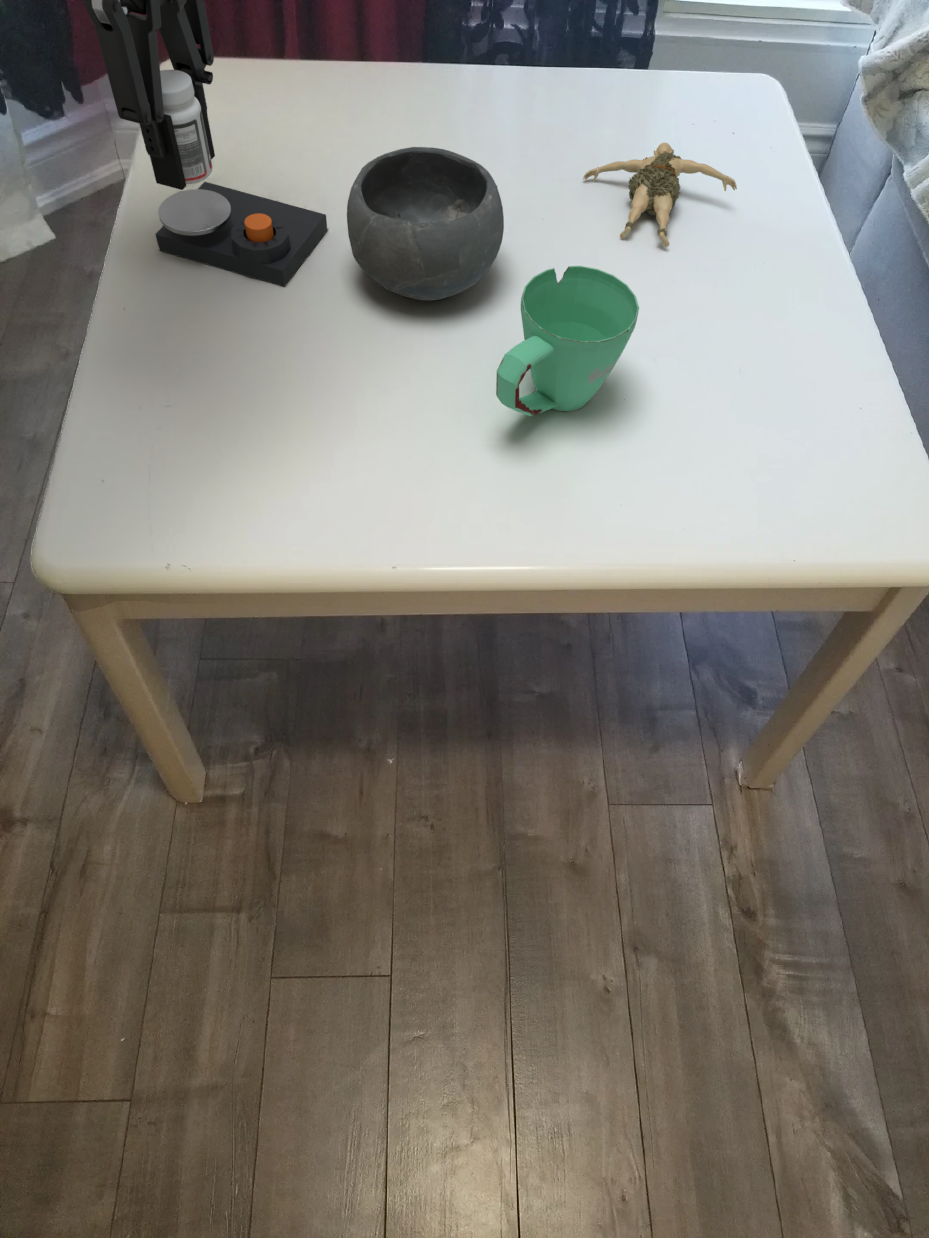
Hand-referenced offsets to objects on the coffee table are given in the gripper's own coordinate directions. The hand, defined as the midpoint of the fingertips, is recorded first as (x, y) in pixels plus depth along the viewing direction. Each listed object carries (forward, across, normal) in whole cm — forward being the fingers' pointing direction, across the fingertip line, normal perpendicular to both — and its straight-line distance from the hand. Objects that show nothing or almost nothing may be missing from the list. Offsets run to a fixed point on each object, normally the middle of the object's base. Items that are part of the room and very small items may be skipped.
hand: (186, 169), depth 86 cm
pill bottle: (0, 0, 0) cm, 0 cm away
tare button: (+5, 0, -7) cm, 9 cm away
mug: (+8, -8, -40) cm, 41 cm away
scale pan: (+5, 0, 0) cm, 5 cm away
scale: (+8, +2, -4) cm, 9 cm away
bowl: (+8, +4, -23) cm, 25 cm away
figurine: (+8, +25, -41) cm, 49 cm away
